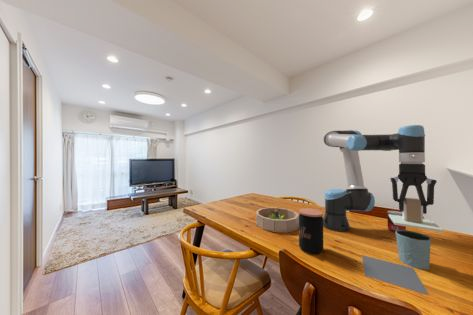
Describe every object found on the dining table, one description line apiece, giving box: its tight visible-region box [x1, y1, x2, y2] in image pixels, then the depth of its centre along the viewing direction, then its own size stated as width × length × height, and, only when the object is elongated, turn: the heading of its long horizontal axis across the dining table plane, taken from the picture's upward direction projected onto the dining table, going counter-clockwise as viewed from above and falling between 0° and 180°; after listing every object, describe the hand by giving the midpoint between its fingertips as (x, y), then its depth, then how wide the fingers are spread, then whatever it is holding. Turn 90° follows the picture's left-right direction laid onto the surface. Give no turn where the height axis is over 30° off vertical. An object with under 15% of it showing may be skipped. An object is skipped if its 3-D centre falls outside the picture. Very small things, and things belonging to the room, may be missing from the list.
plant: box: [266, 209, 287, 220], centre depth 112 cm, size 20×20×11 cm
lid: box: [387, 197, 445, 233], centre depth 70 cm, size 13×13×10 cm
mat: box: [361, 255, 430, 296], centre depth 64 cm, size 16×16×1 cm
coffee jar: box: [298, 207, 324, 256], centre depth 81 cm, size 11×11×18 cm
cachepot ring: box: [255, 206, 299, 233], centre depth 113 cm, size 27×27×7 cm
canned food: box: [387, 210, 407, 233], centre depth 102 cm, size 8×8×11 cm
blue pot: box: [395, 229, 432, 270], centre depth 70 cm, size 10×10×12 cm
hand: (412, 219), depth 70 cm, fingers closed on lid, 4 cm apart
